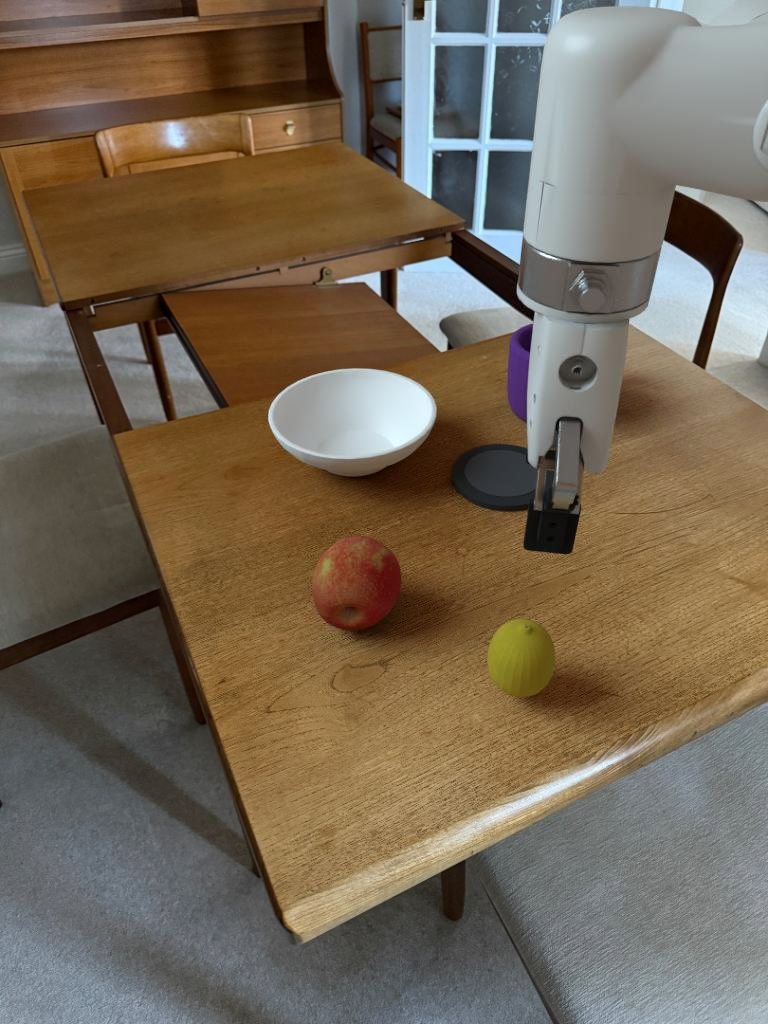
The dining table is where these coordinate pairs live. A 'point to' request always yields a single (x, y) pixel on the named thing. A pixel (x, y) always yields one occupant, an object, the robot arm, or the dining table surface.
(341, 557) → the apple
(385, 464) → the bowl
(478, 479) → the plate
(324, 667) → the dining table surface
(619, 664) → the dining table surface
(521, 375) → the mug
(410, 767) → the dining table surface
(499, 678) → the lemon
